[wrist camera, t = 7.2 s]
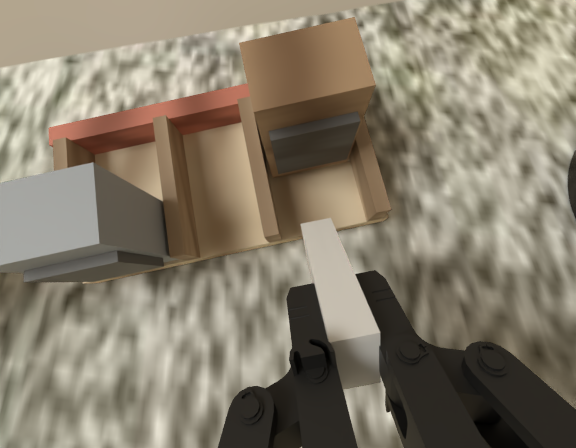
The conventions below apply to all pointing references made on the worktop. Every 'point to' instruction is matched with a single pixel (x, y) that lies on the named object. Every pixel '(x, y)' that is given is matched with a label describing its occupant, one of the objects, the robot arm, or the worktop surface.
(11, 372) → the worktop surface
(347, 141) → the brown box
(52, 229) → the grey block
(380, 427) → the worktop surface
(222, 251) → the wooden compartment tray
